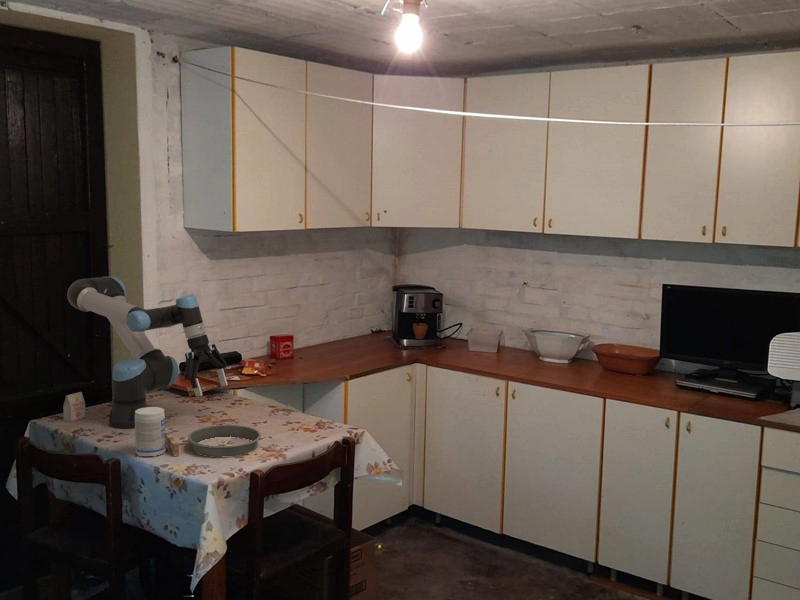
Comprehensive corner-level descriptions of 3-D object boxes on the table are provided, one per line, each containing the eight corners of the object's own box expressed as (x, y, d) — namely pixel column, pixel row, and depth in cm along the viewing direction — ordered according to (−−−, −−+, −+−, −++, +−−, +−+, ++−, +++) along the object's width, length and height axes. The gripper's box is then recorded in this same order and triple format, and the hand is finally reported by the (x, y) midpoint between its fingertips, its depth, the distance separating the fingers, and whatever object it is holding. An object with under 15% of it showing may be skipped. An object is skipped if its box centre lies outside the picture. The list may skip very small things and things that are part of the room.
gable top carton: (63, 420, 291) (62, 394, 290) (78, 416, 297) (78, 391, 296) (70, 422, 289) (69, 396, 288) (85, 418, 295) (84, 392, 294)
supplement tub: (169, 455, 257) (168, 412, 255) (140, 459, 251) (139, 416, 249) (160, 446, 265) (159, 405, 263) (132, 451, 259) (131, 408, 257)
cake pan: (227, 464, 250) (227, 451, 249) (172, 450, 262) (172, 437, 261) (275, 444, 271) (275, 432, 271) (222, 432, 283) (222, 420, 282)
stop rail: (179, 456, 256) (178, 444, 255) (174, 456, 255) (174, 445, 255) (169, 443, 268) (169, 432, 267) (165, 444, 267) (164, 433, 267)
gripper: (179, 342, 275) (195, 399, 277) (226, 327, 297) (241, 380, 298) (164, 345, 279) (181, 401, 281) (212, 330, 301) (227, 382, 302)
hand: (212, 390), depth 289 cm, fingers open, 13 cm apart
